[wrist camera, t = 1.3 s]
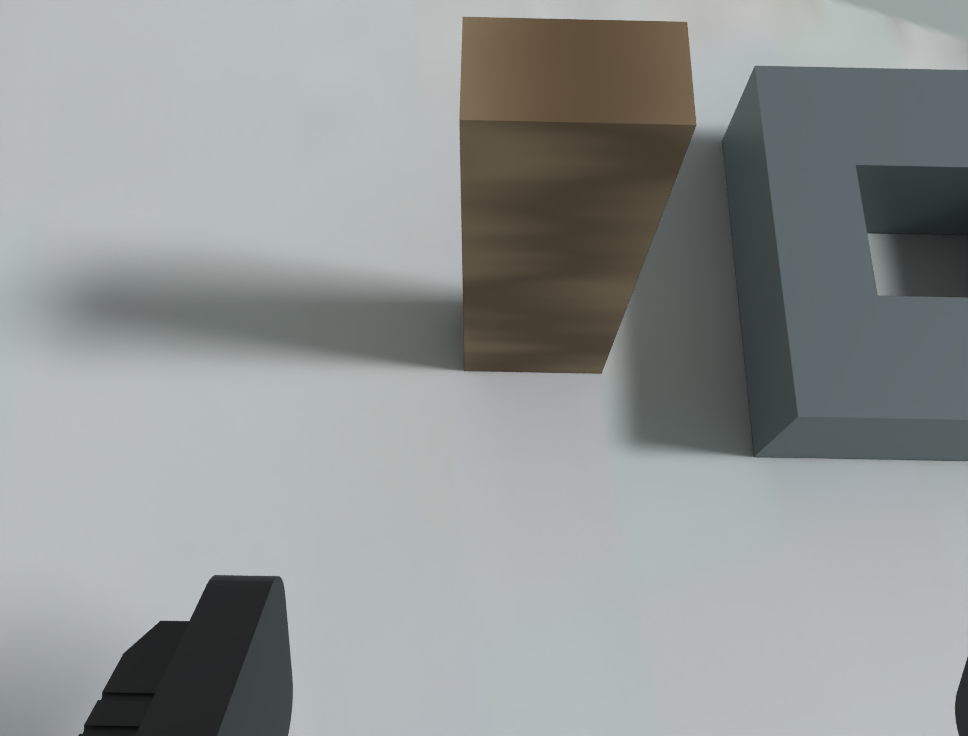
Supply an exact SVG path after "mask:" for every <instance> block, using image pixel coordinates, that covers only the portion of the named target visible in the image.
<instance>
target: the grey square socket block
mask: <svg viewBox="0 0 968 736" xmlns="http://www.w3.org/2000/svg"><path fill="white" fill-rule="evenodd" d="M722 144H723V154H724V164H725V174H726V183H727V193H728V203H729V213H730V223H731V232H732V242H733V252H734V262H735V272H736V281H737V291H738V301H739V311H740V320H741V330H742V340H743V350H744V360H745V369H746V379H747V389H748V399H749V409H750V418H751V428H752V438H753V448H754V457H791V458H846V459H901V460H955V461H968V297H918V296H878V295H877V290H876V284H875V278H874V272H873V266H872V260H871V254H870V248H869V242H868V236H867V233H913V234H963V235H968V70H931V69H883V68H834V67H786V66H755V67H754V69H753V71H752V73H751V76H750V78H749V80H748V83H747V85H746V87H745V90H744V92H743V94H742V97H741V99H740V101H739V103H738V106H737V108H736V110H735V113H734V115H733V117H732V120H731V122H730V124H729V126H728V129H727V131H726V133H725V136H724V138H723V140H722Z"/></svg>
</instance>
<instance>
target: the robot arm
mask: <svg viewBox="0 0 968 736" xmlns="http://www.w3.org/2000/svg"><path fill="white" fill-rule="evenodd" d="M292 699H293V681H292V669H291V657H290V646H289V634H288V622H287V611H286V599H285V590H284V584H283V581H282V579H281V577H279V576H233V575H214V576H213V577H212V578H211V579H210V580H209V582H208V584H207V585H206V588H205V590H204V592H203V594H202V596H201V598H200V600H199V602H198V604H197V607H196V609H195V611H194V613H193V615H192V617H191V619H190V621H160V622H159V623H158V624H157V625H155V626H154V627H153V628H152V629H151V630H150V631H149V632H147V633H146V634H145V635H144V636H143V637H142V638H141V639H139V640H138V641H137V642H136V643H135V644H134V645H133V646H131V647H130V648H129V649H128V650H127V651H126V652H125V653H124V654H123V656H122V657H121V659H120V661H119V663H118V665H117V666H116V668H115V670H114V672H113V674H112V676H111V677H110V679H109V681H108V683H107V685H106V686H105V688H104V690H103V692H102V699H101V700H98V701H97V703H96V705H95V706H94V708H93V710H92V712H91V714H90V716H89V717H88V719H87V721H86V723H85V725H84V732H83V734H79V736H288V733H289V727H290V721H291V712H292ZM955 716H956V724H957V729H958V733H959V736H968V658H967V661H966V664H965V668H964V671H963V674H962V678H961V681H960V684H959V688H958V691H957V695H956V701H955Z"/></svg>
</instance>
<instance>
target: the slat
mask: <svg viewBox="0 0 968 736" xmlns="http://www.w3.org/2000/svg"><path fill="white" fill-rule="evenodd" d="M695 127H696V116H695V105H694V93H693V82H692V71H691V60H690V49H689V38H688V27H687V22H667V21H622V20H577V19H533V18H488V17H463V27H462V59H461V91H460V168H461V220H462V272H463V325H464V371H504V372H556V373H602V371H603V368H604V365H605V363H606V360H607V358H608V355H609V352H610V350H611V347H612V345H613V342H614V339H615V337H616V334H617V331H618V329H619V326H620V324H621V321H622V318H623V316H624V313H625V310H626V308H627V305H628V303H629V300H630V297H631V295H632V292H633V290H634V287H635V284H636V282H637V279H638V276H639V274H640V271H641V269H642V266H643V263H644V261H645V258H646V255H647V253H648V250H649V248H650V245H651V242H652V240H653V237H654V235H655V232H656V229H657V227H658V224H659V221H660V219H661V216H662V214H663V211H664V208H665V206H666V203H667V200H668V198H669V195H670V193H671V190H672V187H673V185H674V182H675V180H676V177H677V174H678V172H679V169H680V166H681V164H682V161H683V159H684V156H685V153H686V151H687V148H688V145H689V143H690V140H691V138H692V135H693V132H694V130H695Z"/></svg>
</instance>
